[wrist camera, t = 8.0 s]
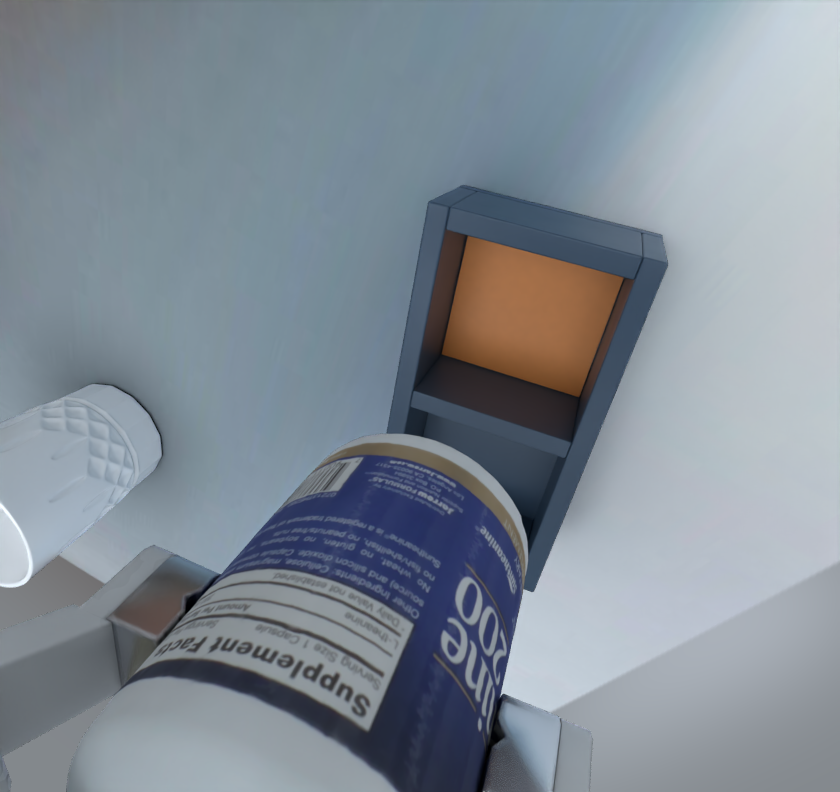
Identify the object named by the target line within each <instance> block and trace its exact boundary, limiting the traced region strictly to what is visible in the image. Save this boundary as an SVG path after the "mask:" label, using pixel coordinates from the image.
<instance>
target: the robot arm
mask: <svg viewBox="0 0 840 792" xmlns="http://www.w3.org/2000/svg"><path fill="white" fill-rule="evenodd" d="M220 575H221V574H219V573H217V572H214V571H212V570H210V569H207V568H205V567H203V566H201V565H198V564H196V563H194V562H192V561H189V560H187V559H185V558H183V557H180V556H178V555H177V554H174V553H172V552H169V551H167V550H165V549H162V548H160V547H158V546H155V545H153V546H150V547H148V548H146V549H144V550H143V551H141V552H140V553H139V554H138V555H137V556H136V557H135V558H134V559H133V560H132V561H130V562H129V563H128V564H127V565H126V566H125V567H124V568H123V569H122V570H120V571H119V572H118V573H117V574H116V575H115V576H114V577H113V578H112V579H110V580H109V581H108V582H107V583H106V584H105V585H104V586H103V587H102V588H101V589H99V590H98V591H97V592H96V593H95V594H94V595H93V596H92V597H91V598H90V599H88V600H87V601H86V602H85V603H84V604H83V605H82V606H81V607H78V606H75V605H74V604H73V605H70V606H67V607H64V608H61V609H59V610H56V611H53V612H50V613H47V614H44V615H42V616H39V617H36V618H33V619H30V620H27V621H25V622H22V623H19V624H16V625H13V626H11V627H8V628H5V629H2V630H0V792H10V788H11V779H10V776H9V774H8V771H7V768H6V765H5V763H4V760H3V758H2V757H3V756H4V755H6V754H8V753H10V752H11V751H13V750H15V749H17V748H19V747H21V746H22V745H24V744H26V743H28V742H30V741H31V740H33V739H35V738H37V737H39V736H41V735H42V734H44V733H46V732H47V731H50V730H51V729H53V728H55V727H57V726H58V725H60V724H62V723H64V722H66V721H67V720H69V719H71V718H73V717H75V716H77V715H78V714H80V713H82V712H84V711H86V710H87V709H89V708H91V707H93V706H95V705H97V704H98V703H100V702H102V701H104V700H106V699H107V698H109V697H111V696H113V695H115V694H116V693H117V691H118V690H119V689H120V688H121V687H122V686H123V685H124V684H125V683H126V682H127V681H128V680H129V679H130V678H131V677H132V676H133V674H134V673H135V672H136V671H137V670H138V669H139V668H140V666H141V665H142V664H143V663H144V662H145V661H146V659H147V658H148V657H149V656H150V655H151V654H152V653H153V651H154V650H155V649H156V648H157V647H158V646H159V645H160V644H161V643H162V642H163V641H164V640H165V638H166V637H167V636H168V635H169V633H170V632H171V631H172V630H173V629H174V628H175V627H176V625H177V624H178V623H179V622H180V621H181V620H182V619H183V618H184V616H185V615H186V614H187V613H188V612H189V611H190V610H191V609H192V607H193V606H194V605H195V604H196V603H197V601H198V600H199V599H200V598H201V597H202V596H203V595H204V594H205V592H206V591H207V590H208V589H209V588H210V587H211V586H212V585H213V584H214V582H215V581H216V580H217V579H218V578H219V577H220ZM592 744H593V738H592V735H591V731H590V730H589V729H586V728H584V727H581V726H579V725H576V724H574V723H571V722H569V721H566V720H564V719H561V718H559V716H557V715H555V714H552V713H550V712H547V711H545V710H542V709H540V708H537V707H535V706H532V705H530V704H527V703H525V702H522V701H520V700H518V699H515V698H513V697H510V696H508V695H505V694H502V695H501V697H500V699H499V703H498V707H497V712H496V716H495V720H494V725H493V729H492V734H491V739H490V742H489V746H488V751H487V755H486V760H485V764H484V768H483V773H482V777H481V781H480V785H479V790H478V792H590V776H591V759H592Z"/></svg>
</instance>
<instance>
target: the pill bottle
mask: <svg viewBox="0 0 840 792" xmlns="http://www.w3.org/2000/svg"><path fill="white" fill-rule="evenodd" d="M527 565H528V543H527V537H526V533H525V530H524V527H523V524H522V519H521V515H520V513H519V511H518V509H517V508H516V506H515V504H514V503H513V501H512V499H511V498H510V496H509V495H508V494H507V492H506V491H505V490H504V489H503V487H502V486H501V485H500V484H499V482H498V481H497V480H496V479H495V478H494V477H493V476H492V475H491V474H489V473H488V472H487V471H486V470H485V469H484V468H483V467H481V466H480V465H479V464H478V463H476V462H475V461H473V460H472V459H471V458H469V457H468V456H466V455H464V454H463V453H461V452H459V451H457V450H455V449H454V448H452V447H449V446H447V445H445V444H442V443H440V442H437V441H435V440H431V439H427V438H423V437H420V436H414V435H408V434H375V435H369V436H364V437H361V438H358V439H355V440H353V441H351V442H349V443H347V444H345V445H343V446H341V447H339V448H337V449H336V450H335V451H333V452H332V453H331V454H330V455H329V456H328V457H326V458H325V459H324V460H323V461H322V462H321V463H320V464H319V466H318V467H317V468H316V469H315V470H314V471H313V472H312V473H311V474H310V475H309V476H308V477H307V479H306V480H304V481H303V482H302V483H301V485H300V486H299V487H298V488H297V489H296V490H295V492H294V493H293V494H292V495H291V496H290V497H289V498H288V499H287V501H286V502H285V503H284V504H283V505H282V506H281V507H280V508H279V509H278V510H277V512H276V513H275V514H274V515H273V516H272V517H271V519H270V520H269V521H268V522H267V523H266V524H265V525H264V526H263V527H262V528H261V530H260V531H259V532H258V533H257V534H256V535H255V536H254V538H253V539H252V540H251V541H250V542H249V544H248V545H247V546H246V547H245V548H244V549H243V550H242V551H241V553H240V554H239V555H238V556H237V557H236V558H235V559H234V560H233V561H232V563H231V564H230V565H229V566H228V567H227V568H226V570H225V571H224V572H223V573H222V574H221V575H220V577H219V578H218V579H217V580H216V581H215V582H214V584H213V585H212V586H211V587H210V588H209V589H208V590H207V591H206V592H205V594H204V595H203V596H202V597H201V598H200V599H199V600H198V601H197V603H196V604H195V605H194V606H193V607H192V609H191V610H190V611H189V612H188V613H187V614H186V615H185V616H184V618H183V619H182V620H181V621H180V622H179V623H178V624H177V625H176V627H175V628H174V629H173V630H172V631H171V632H170V633H169V635H168V636H167V637H166V638H165V640H164V641H163V642H162V643H161V644H160V645H159V646H158V647H157V648H156V649H155V650H154V651H153V653H152V654H151V655H150V656H149V657H148V658H147V659H146V661H145V662H144V663H143V664H142V665H141V666H140V668H139V669H138V670H137V671H136V672H135V673H134V674H133V676H132V677H131V678H130V679H129V680H128V681H127V682H126V683H125V684H124V685H123V686H122V687H121V688H120V689H119V690H118V691H117V693H116V694H115V695H114V696H113V697H112V698H111V700H110V702H109V703H108V704H107V706H106V707H105V708H104V709H103V711H102V712H101V713H100V714H99V716H98V717H97V718H96V719H95V721H94V722H93V723H92V724H91V726H90V727H89V729H88V730H87V731H86V733H85V734H84V736H83V737H82V739H81V742H80V743H79V745H78V747H77V750H76V752H75V754H74V756H73V759H72V762H71V765H70V768H69V773H68V779H67V788H66V792H478V790H479V785H480V781H481V777H482V773H483V768H484V764H485V760H486V755H487V751H488V746H489V742H490V739H491V734H492V729H493V725H494V720H495V716H496V712H497V707H498V703H499V699H500V694H501V690H502V685H503V681H504V676H505V672H506V667H507V663H508V658H509V654H510V649H511V644H512V639H513V635H514V631H515V627H516V622H517V617H518V613H519V608H520V604H521V599H522V594H523V588H524V581H525V575H526V571H527Z"/></svg>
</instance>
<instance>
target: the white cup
mask: <svg viewBox="0 0 840 792" xmlns="http://www.w3.org/2000/svg"><path fill="white" fill-rule="evenodd" d="M161 456H162V450H161V440H160V435H159V433H158V431H157V429H156V427H155V425H154V423H153V421H152V419H151V417H150V415H149V414H148V413H147V412H146V411H145V410H144V409H143V408H142V406H141V405H140V404H139V403H138V402H137V401H136V400H135V399H134V398H133V397H131V396H130V395H128V394H126V393H124V392H123V391H121V390H119V389H117V388H115V387H113V386H110V385H100V384H91V385H88V386H86V387H84V388H82V389H80V390H78V391H75V392H73V393H71V394H69V395H67V396H65V397H62V398H60V399H58V400H56V401H52V402H47V403H44V404H42V405H40V406H37V407H35V408H32V409H30V410H28V411H25V412H23V413H21V414H19V415H17V416H15V417H12V418H9V419H7V420H4V421H2V422H0V586H2V587H18V586H21V585H23V584H25V583H26V582H28V581H29V580H30V579H31V578H32V577H33V576H34V575H36V574H37V573H38V572H39V571H40V570H41V569H43V568H44V567H45V566H46V565H47V564H48V563H49V562H51V561H52V560H53V559H54V558H55V557H56V556H58V555H59V554H60V553H61V552H62V551H64V550H65V549H66V548H67V547H68V546H69V545H71V544H72V543H73V542H74V541H75V540H77V539H78V538H79V537H80V536H81V535H82V534H84V533H85V532H86V531H87V530H88V529H90V528H91V527H92V526H93V525H94V524H95V523H96V522H98V521H99V520H100V519H101V518H102V517H103V516H104V515H105V514H106V513H107V512H108V511H109V510H110V509H112V508H113V507H114V506H115V505H117V504H118V503H119V502H120V501H121V500H122V499H123V498H124V497H125V496H126V495H127V493H128V492H129V491H130V490H131V489H133V488H134V487H135V486H136V485H137V484H139V483H140V482H141V481H142V480H143V479H145V478H146V477H147V476H148V475H149V474H151V473H152V472H153V471H154V470H155V468H156V466H157V464H158V462H159V460H160V458H161Z"/></svg>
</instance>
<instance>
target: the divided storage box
mask: <svg viewBox="0 0 840 792" xmlns="http://www.w3.org/2000/svg"><path fill="white" fill-rule="evenodd" d="M667 266H668V262H667V257H666V252H665V247H664V243H663V237H662V235H660V234H656V233H652V232H648V231H644V230H640V229H636V228H632V227H628V226H624V225H620V224H616V223H612V222H608V221H604V220H600V219H596V218H592V217H589V216H585V215H581V214H577V213H573V212H569V211H565V210H561V209H557V208H553V207H549V206H545V205H541V204H537V203H533V202H529V201H525V200H521V199H517V198H513V197H509V196H505V195H501V194H497V193H493V192H489V191H485V190H481V189H477V188H473V187H469V186H465V185H462V186H460V187H458V188H456V189H454V190H452V191H450V192H448V193H446V194H444V195H442V196H440V197H437V198H435V199H433V200H431V201H429V203H428V207H427V212H426V218H425V223H424V229H423V234H422V240H421V245H420V251H419V256H418V262H417V267H416V273H415V279H414V284H413V290H412V295H411V301H410V306H409V312H408V317H407V323H406V328H405V334H404V339H403V345H402V351H401V356H400V362H399V367H398V373H397V378H396V384H395V389H394V395H393V400H392V406H391V411H390V417H389V423H388V428H387V434H408V435H414V436H420V437H423V438H427V439H431V440H435V441H437V442H440V443H442V444H445V445H447V446H449V447H452V448H454V449H455V450H457V451H459V452H461V453H463V454H464V455H466V456H468V457H469V458H471V459H472V460H473V461H475V462H476V463H478V464H479V465H480V466H481V467H483V468H484V469H485V470H486V471H487V472H488V473H489V474H491V475H492V476H493V477H494V478H495V479H496V480H497V481H498V482H499V484H500V485H501V486H502V487H503V489H504V490H505V491H506V492H507V494H508V495H509V496H510V498H511V499H512V501H513V503H514V504H515V506H516V508H517V509H518V511H519V513H520V515H521V519H522V524H523V527H524V530H525V533H526V537H527V543H528V565H527V571H526V575H525V581H524V588H523V589H525V590H528V591H530V592H534V590H535V588H536V585H537V583H538V580H539V578H540V575H541V573H542V571H543V568H544V566H545V563H546V561H547V558H548V556H549V554H550V551H551V549H552V546H553V544H554V541H555V539H556V537H557V534H558V532H559V529H560V527H561V524H562V522H563V519H564V517H565V515H566V512H567V510H568V507H569V505H570V502H571V500H572V498H573V495H574V493H575V490H576V488H577V485H578V483H579V481H580V478H581V476H582V473H583V471H584V468H585V466H586V464H587V461H588V459H589V456H590V454H591V451H592V449H593V447H594V444H595V442H596V439H597V437H598V434H599V432H600V429H601V427H602V425H603V422H604V420H605V417H606V415H607V412H608V410H609V408H610V405H611V403H612V400H613V398H614V395H615V393H616V391H617V388H618V386H619V383H620V381H621V378H622V376H623V374H624V371H625V369H626V366H627V364H628V361H629V359H630V356H631V354H632V352H633V349H634V347H635V344H636V342H637V339H638V337H639V335H640V332H641V330H642V327H643V325H644V322H645V320H646V318H647V315H648V313H649V310H650V308H651V305H652V303H653V301H654V298H655V296H656V293H657V291H658V288H659V286H660V283H661V281H662V279H663V276H664V274H665V271H666V269H667Z"/></svg>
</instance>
